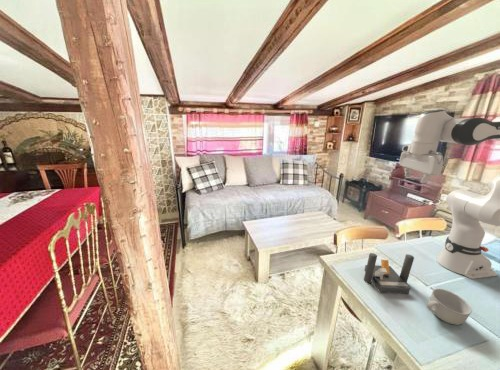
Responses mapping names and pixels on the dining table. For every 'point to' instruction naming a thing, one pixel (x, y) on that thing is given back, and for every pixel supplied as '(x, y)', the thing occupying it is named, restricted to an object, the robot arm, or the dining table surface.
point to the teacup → (449, 306)
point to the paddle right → (380, 272)
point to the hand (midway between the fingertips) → (414, 179)
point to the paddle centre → (385, 266)
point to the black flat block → (389, 282)
